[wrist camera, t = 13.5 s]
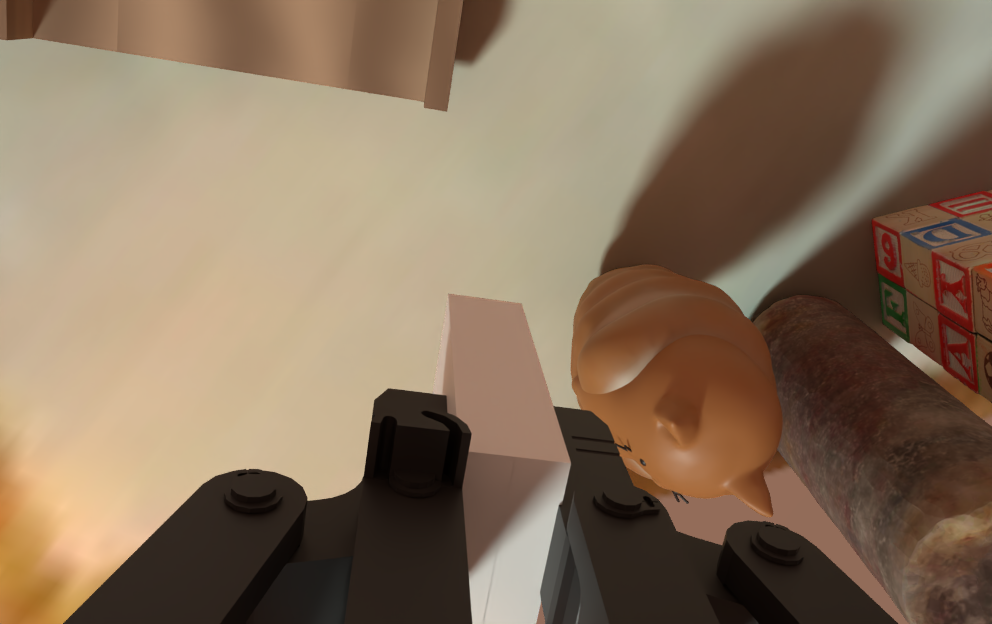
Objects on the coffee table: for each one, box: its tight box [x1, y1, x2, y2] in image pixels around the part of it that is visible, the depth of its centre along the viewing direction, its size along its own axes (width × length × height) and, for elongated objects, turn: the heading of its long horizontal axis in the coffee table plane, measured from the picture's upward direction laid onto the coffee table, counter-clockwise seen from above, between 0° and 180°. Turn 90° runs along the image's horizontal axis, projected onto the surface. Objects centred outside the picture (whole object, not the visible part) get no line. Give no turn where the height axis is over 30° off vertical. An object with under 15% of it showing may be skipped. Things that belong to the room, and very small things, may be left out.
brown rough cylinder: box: [753, 295, 992, 624], centre depth 38 cm, size 8×7×20 cm
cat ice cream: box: [571, 264, 783, 517], centre depth 37 cm, size 9×8×18 cm
